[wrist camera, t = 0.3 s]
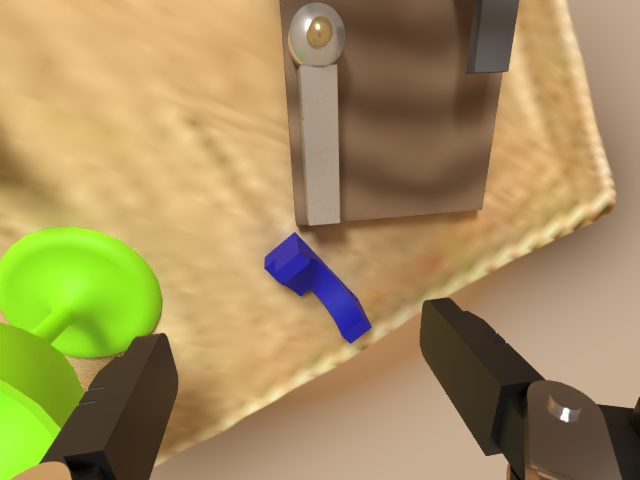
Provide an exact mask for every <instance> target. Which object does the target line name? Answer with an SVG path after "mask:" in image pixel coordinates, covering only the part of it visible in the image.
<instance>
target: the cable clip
mask: <svg viewBox="0 0 640 480" xmlns="http://www.w3.org/2000/svg"><path fill="white" fill-rule="evenodd" d="M265 269H266V270H267V271H268V272H269V273H270V274H271V275H272V276H273V277H274V278H275V279H276V280H277V281H278V282H279V283H280V284H282V285H285V286H287V287H289V288H291V289H292V290H293V291H295V292H296V293H297V294H298V295H299V296H302V295H303V294H304V293H305V292H307V291H308V290H309V289H311V290H312V291H313V292H314V293H315V294H316V295H317V296H318V298H319V299H320V300H321V301H322V302H323V304H324V305H325V306H326V308H327V309H328V311H329V312H330V314H331V315H332V317H333V318H334V320H335V322H336V324H337V326H338V328H339V330H340V332H341V335H342V336H343V337H344V338H345V339H346V340H347V341H348V342H349V343H350V344H351V343H352V342H353V341H355V340H356V339H357V338H359V337H360V336H361V335H363V334H364V333H365V332H366V331H368V330H369V329H370V328H372V327H371V325H370V323H369V321H368V318H367V316H366V314H365V312H364V310H363V308H362V306H361V304H360V302H359V300H358V298H357V297H356V296H355V295H354V294H353V293H352V292H351V291H350V290H349V289H348V288H347V287H346V286H345V285H344V284H343V282H342V281H341V280H340V279H339V278H338V277H337V276H336V275H335V274H334V273H333V272H332V271H331V270H330V269H329V268H328V267H327V265H326V264H325V263H324V262H323V261H322V260H321V259H320V258H319V257H318V256H317V255H316V254H315V253H314V252H313V251H312V250H311V249H310V247H309V246H308V245H307V244H306V243H305V242H304V241H303V240H302V239H301V238H300V237H299V236H298V235H297V234H296V233H295V232H294V233H293V234H292V235H291V236H290V237H288V238H287V239H286V240H285V241H284V242H282V243H281V244H280V245H279V246H278V247H276V248H275V249H274V250H273V251H272V252H271V253H269V254H268V255H267V256H266V257H265Z"/></svg>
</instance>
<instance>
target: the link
mask: <svg viewBox="0 0 640 480" xmlns="http://www.w3.org/2000/svg"><path fill="white" fill-rule="evenodd" d="M344 44H345V29H344V25H343V22H342V20H341V18H340V16H339V15H338V13H337V12H336V11H335V10H334V9H333V8H332V7H330V6H328V5H326V4H324V3H318V2H315V3H309V4H307V5H305V6H303V7H302V8H300V9H299V10H298V11H297V13H296V14H295V15H294V17H293V19H292V22H291V25H290V29H289V33H288V39H287V45H288V51H289V54H290V56H291V58H292V60H293V62H294V63H295V64H296V65H297V66H298V67H299V68H298V70H297V77H298V94H299V110H300V127H301V144H302V161H303V177H304V194H305V211H306V218H307V221H308V224H309V226H311V225H322V224H334V223H340V193H339V140H338V86H337V65H331V64H332V63H333V62H335V61H336V60H337V59H338V57H339V56H340V54H341V52H342V50H343V48H344Z"/></svg>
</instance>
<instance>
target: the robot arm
mask: <svg viewBox="0 0 640 480" xmlns="http://www.w3.org/2000/svg"><path fill="white" fill-rule="evenodd" d="M420 347H421V351H422V354H423V356H424V358H425V360H426V362H427V363H428V365H429V366H430V368H431V370H432V371H433V373H434V375H435V376H436V377H437V379H438V381H439V382H440V384H441V386H442V387H443V389H444V390H445V392H446V394H447V395H448V397H449V398H450V400H451V402H452V403H453V404H454V406H455V408H456V409H457V411H458V413H459V414H460V416H461V417H462V419H463V420H464V422H465V424H466V425H467V427H468V428H469V430H470V431H471V433H472V435H473V436H474V438H475V440H476V441H477V443H478V444H479V446H480V448H481V449H482V451H483V452H484V454H485V455H486V456H490V455H495V454H500V453H503V455H504V456H505V458H506V459H507V461H508V462H509V463H508V467H507V480H640V397H639V399H638V401H637V404H636V406H635V408H634V409H633V408H625V407H616V406H608V405H599V404H596V403H595V402H594V401H593V400H592V399H590V398H589V397H588V396H587V395H585V394H584V393H582V392H581V391H579V390H577V389H575V388H573V387H571V386H569V385H566V384H563V383H561V382H557V381H550V380H545V379H544V378H543V377H542V376H541V375H540V374H539V373H538V372H537V371H536V370H535V369H534V368H533V367H532V366H531V365H530V364H529V363H528V362H527V361H526V360H525V359H524V358H522V356H520V355H519V354H518V353H517V352H516V351H515V350H514V349H513V348H512V347H511V346H510V345H509V344H508V343H506V342H505V340H504V339H503V338H502V337H501V336H500V335H499V334H498V333H497V334H496V332H495V331H494V329H493V328H492V327H490V325H488V324H487V323H486V322H485V321H484V320H483V319H481V318H479V317H478V316H476V315H474V314H472V313H470V312H469V311H462V310H461V309H460V308H459V307H458V306H457V305H456V304H455V303H454V302H453V300H451V299H450V298H440V299H432V300H426V301H424V303H423V307H422V318H421V330H420ZM177 391H178V374H177V370H176V366H175V363H174V359H173V355H172V352H171V348H170V345H169V341H168V338H167V336H166V334H164V333H160V334H152V335H144V336H137V337H135V338H134V339H133V340H132V342H131V344H130V345H129V347H128V349H127V350H126V352H125V354H124V356H121V357H115V358H114V359H113V360H112V361H111V362H110V363H108V364H107V365H106V366H105V367H104V368H103V369H102V370H100V371H99V372H98V374H97V375H96V377H95V378H94V380H93V382H92V383H91V385H90V386H89V388H88V391H87V392H85V394H84V395H83V397H82V398H81V400H80V401H79V406H76V408H75V409H74V411H73V412H72V414H71V415H70V417H69V418H68V420H67V421H66V423H65V424H64V426H63V427H62V429H61V431H60V432H59V434H58V435H57V437H56V438H55V440H54V441H53V443H52V444H51V446H50V447H49V449H48V450H47V452H46V454H45V455H44V457H43V458H42V460H41V461H40V463H39V464H38V465H35V466H33V467H31V468H28V469H26V470H25V471H23V472H21V473H19V474H18V475H16V476H14V477H13V478H11V479H10V480H149V478H150V475H151V472H152V469H153V466H154V463H155V460H156V457H157V454H158V451H159V448H160V445H161V442H162V439H163V435H164V432H165V429H166V426H167V423H168V420H169V417H170V414H171V411H172V408H173V405H174V402H175V399H176V395H177Z"/></svg>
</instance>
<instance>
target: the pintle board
mask: <svg viewBox="0 0 640 480" xmlns="http://www.w3.org/2000/svg"><path fill="white" fill-rule="evenodd" d="M315 2H318V3H324V4H326V5H328V6H330V7H332V8H333V9H334V10H335V11H336V12H337V13H338V15H339V16H340V18H341V20H342V22H343V25H344V29H345V44H344V48H343V50H342V52H341V54H340V56H339V57H338V59H337V60H336V61H335V62H333V63H332V64H331V65H337V86H338V140H339V193H340V222H346V221H358V220H369V219H381V218H392V217H404V216H415V215H427V214H438V213H450V212H462V211H473V210H482V206H483V199H484V192H485V186H486V179H487V172H488V166H489V159H490V152H491V146H492V139H493V133H494V126H495V119H496V113H497V106H498V99H499V93H500V86H501V79H502V73H503V72H506V71H508V69H509V63H510V56H511V50H512V43H513V37H514V31H515V24H516V18H517V11H518V5H519V0H280V12H281V26H282V40H283V54H284V68H285V81H286V95H287V109H288V123H289V137H290V150H291V164H292V178H293V192H294V206H295V220H296V225H297V226H300V225H309V224H308V221H307V218H306V211H305V194H304V177H303V161H302V144H301V127H300V110H299V94H298V77H297V70H298V68H299V67H298V66H297V65H296V64H295V63H294V62H293V60H292V58H291V56H290V54H289V51H288V45H287V39H288V33H289V29H290V25H291V22H292V19H293V17H294V15H295V14H296V13H297V11H298V10H299V9H300V8H302V7H303V6H305V5H307V4H309V3H315Z"/></svg>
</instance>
